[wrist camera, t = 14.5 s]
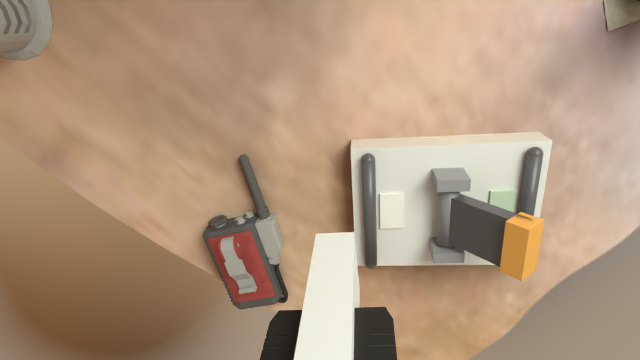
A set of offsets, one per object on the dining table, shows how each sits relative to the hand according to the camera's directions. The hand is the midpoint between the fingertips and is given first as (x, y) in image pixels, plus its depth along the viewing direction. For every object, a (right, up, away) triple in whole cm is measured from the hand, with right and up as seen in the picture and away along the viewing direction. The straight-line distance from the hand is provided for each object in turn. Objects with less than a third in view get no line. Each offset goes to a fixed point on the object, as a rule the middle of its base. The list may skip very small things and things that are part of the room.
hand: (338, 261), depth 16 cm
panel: (+12, +1, +28) cm, 31 cm away
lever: (+12, 0, +24) cm, 27 cm away
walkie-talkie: (-10, -3, +33) cm, 34 cm away
